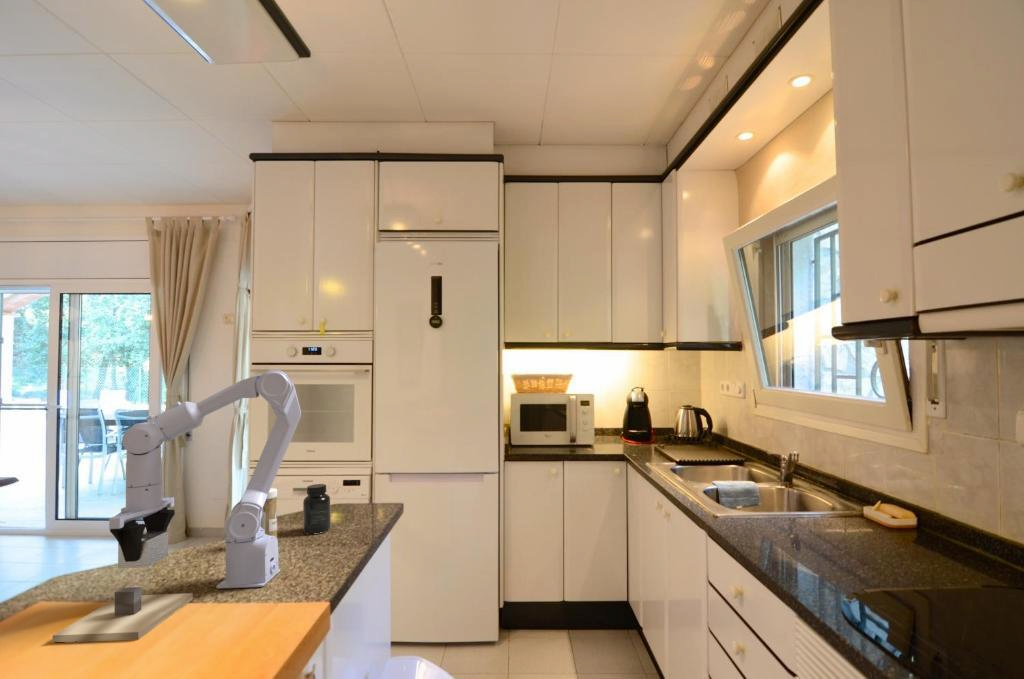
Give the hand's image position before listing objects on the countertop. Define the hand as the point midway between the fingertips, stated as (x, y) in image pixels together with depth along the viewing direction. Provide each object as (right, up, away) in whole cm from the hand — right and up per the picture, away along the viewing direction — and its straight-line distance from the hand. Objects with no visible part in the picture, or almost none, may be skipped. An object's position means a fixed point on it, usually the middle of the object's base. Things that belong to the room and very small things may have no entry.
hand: (143, 554), depth 97 cm
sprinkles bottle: (+10, -10, +28) cm, 32 cm away
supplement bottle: (+19, -10, +37) cm, 43 cm away
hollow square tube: (0, -1, 0) cm, 1 cm away
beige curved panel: (+4, -8, -9) cm, 12 cm away
